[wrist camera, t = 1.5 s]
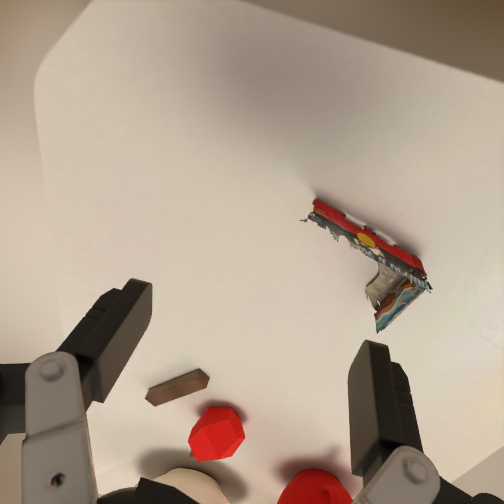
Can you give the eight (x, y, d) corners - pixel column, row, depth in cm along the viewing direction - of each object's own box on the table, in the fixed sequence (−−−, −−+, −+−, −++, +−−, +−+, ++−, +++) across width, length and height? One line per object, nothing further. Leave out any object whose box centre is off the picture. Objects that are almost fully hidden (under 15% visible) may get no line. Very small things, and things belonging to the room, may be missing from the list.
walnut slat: (159, 397, 51) (154, 406, 49) (148, 389, 50) (144, 398, 49) (210, 377, 46) (206, 388, 45) (199, 368, 45) (196, 378, 44)
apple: (232, 437, 43) (176, 467, 43) (258, 456, 47) (206, 484, 47) (222, 387, 48) (173, 415, 49) (246, 409, 52) (200, 434, 53)
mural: (266, 247, 33) (255, 286, 29) (309, 186, 29) (304, 219, 25) (373, 306, 35) (379, 352, 30) (427, 256, 31) (445, 300, 26)
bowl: (149, 493, 70) (133, 537, 64) (132, 439, 59) (110, 486, 53) (248, 515, 67) (240, 563, 61) (249, 462, 56) (239, 515, 50)
